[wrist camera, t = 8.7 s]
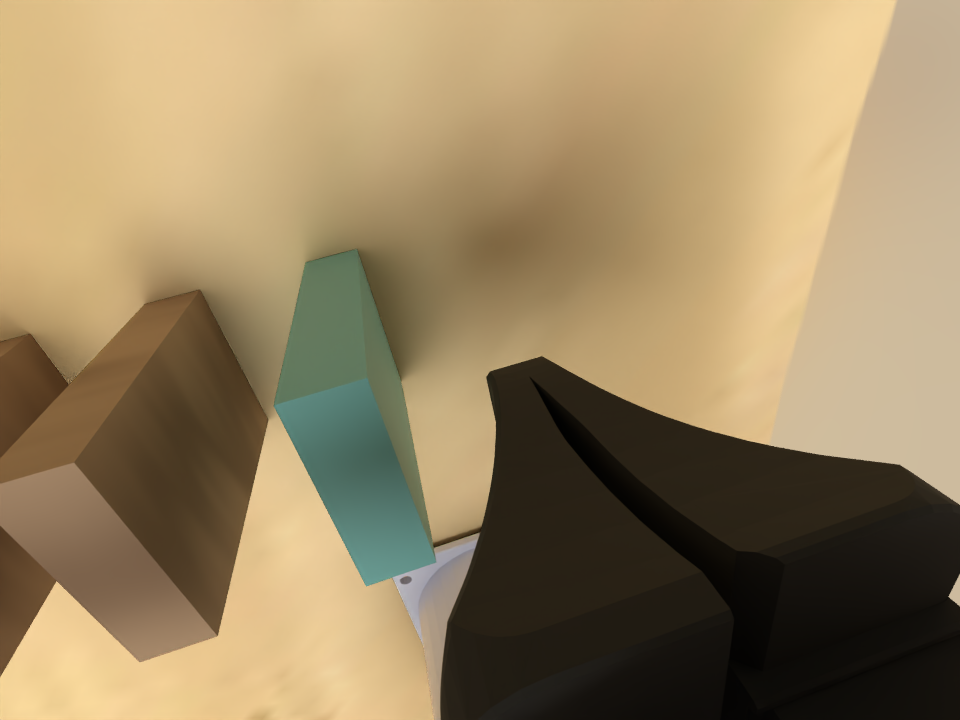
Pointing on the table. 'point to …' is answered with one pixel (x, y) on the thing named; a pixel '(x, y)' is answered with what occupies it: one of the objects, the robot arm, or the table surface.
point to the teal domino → (353, 420)
